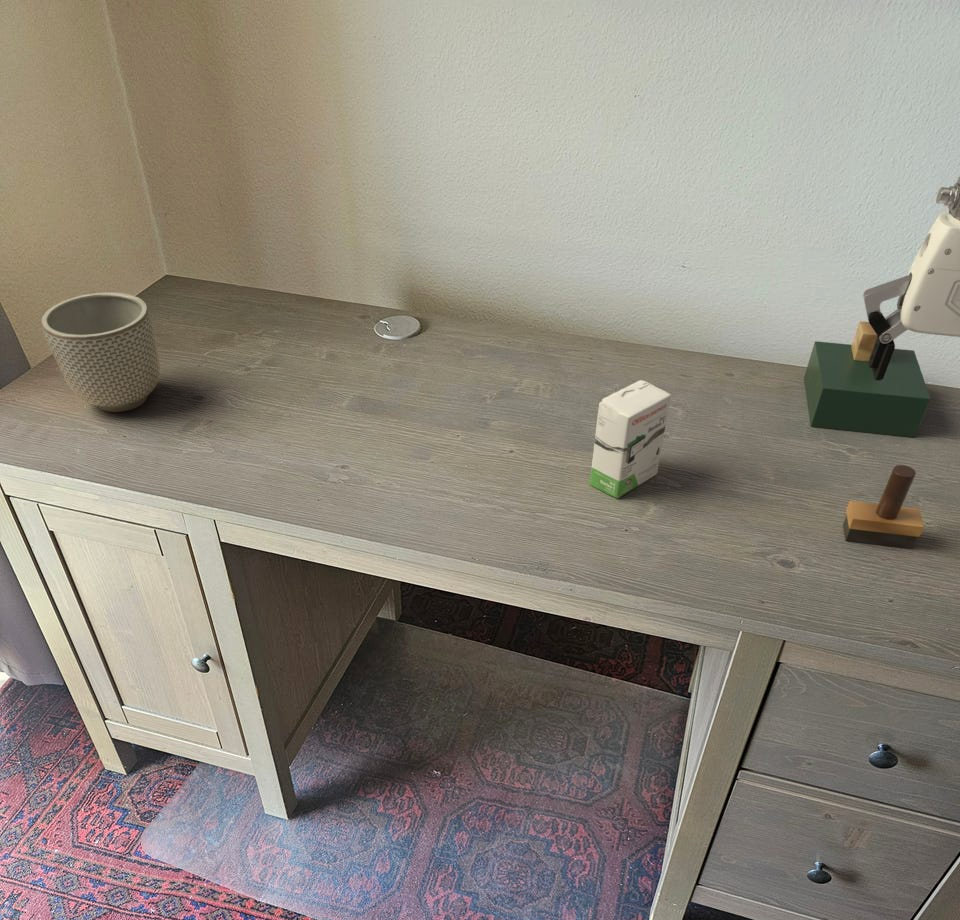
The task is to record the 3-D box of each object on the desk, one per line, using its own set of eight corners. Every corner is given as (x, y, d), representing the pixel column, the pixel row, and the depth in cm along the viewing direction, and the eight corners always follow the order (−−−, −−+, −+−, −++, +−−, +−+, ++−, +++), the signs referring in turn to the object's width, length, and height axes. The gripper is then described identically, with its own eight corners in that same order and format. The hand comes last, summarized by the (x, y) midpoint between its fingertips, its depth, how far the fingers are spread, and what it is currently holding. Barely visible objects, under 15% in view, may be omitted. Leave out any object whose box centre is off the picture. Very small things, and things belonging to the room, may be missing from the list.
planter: (128, 367, 132) (103, 283, 122) (191, 394, 126) (169, 308, 117) (51, 406, 124) (17, 318, 114) (115, 436, 118) (85, 347, 109)
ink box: (616, 500, 109) (629, 417, 100) (587, 483, 111) (596, 401, 103) (659, 473, 113) (674, 392, 104) (629, 458, 115) (642, 377, 107)
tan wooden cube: (879, 350, 125) (888, 323, 122) (883, 363, 122) (892, 336, 119) (850, 347, 125) (859, 320, 122) (853, 360, 123) (862, 333, 120)
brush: (908, 531, 105) (939, 466, 98) (913, 550, 102) (944, 484, 95) (840, 523, 106) (866, 458, 99) (843, 541, 103) (869, 475, 96)
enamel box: (901, 388, 129) (916, 350, 125) (916, 438, 119) (933, 399, 115) (803, 378, 131) (814, 340, 127) (810, 426, 121) (822, 388, 117)
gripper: (903, 212, 76) (842, 388, 88) (1112, 229, 74) (1020, 407, 86) (891, 184, 81) (835, 354, 94) (1086, 199, 79) (1003, 371, 91)
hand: (924, 379), depth 90 cm, fingers open, 9 cm apart
